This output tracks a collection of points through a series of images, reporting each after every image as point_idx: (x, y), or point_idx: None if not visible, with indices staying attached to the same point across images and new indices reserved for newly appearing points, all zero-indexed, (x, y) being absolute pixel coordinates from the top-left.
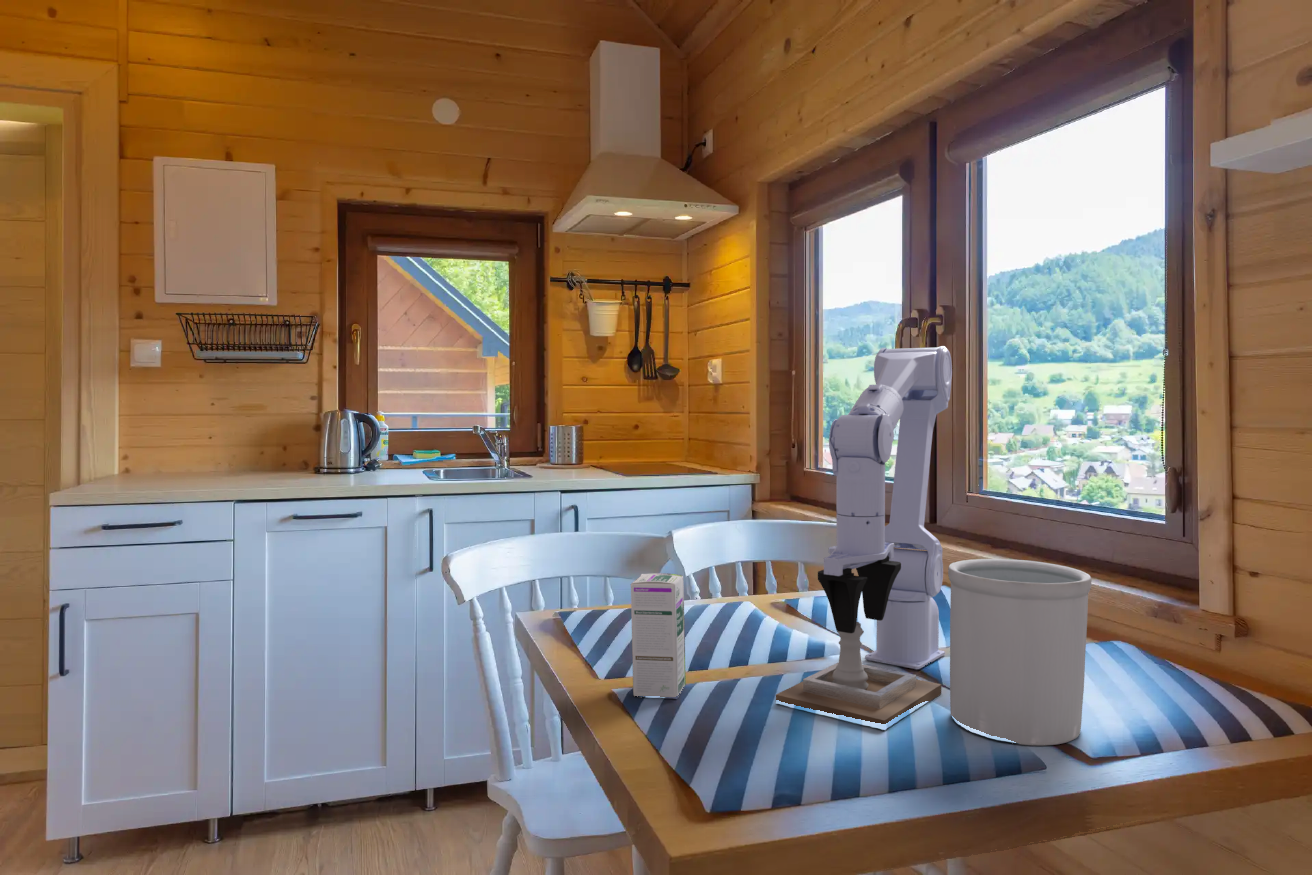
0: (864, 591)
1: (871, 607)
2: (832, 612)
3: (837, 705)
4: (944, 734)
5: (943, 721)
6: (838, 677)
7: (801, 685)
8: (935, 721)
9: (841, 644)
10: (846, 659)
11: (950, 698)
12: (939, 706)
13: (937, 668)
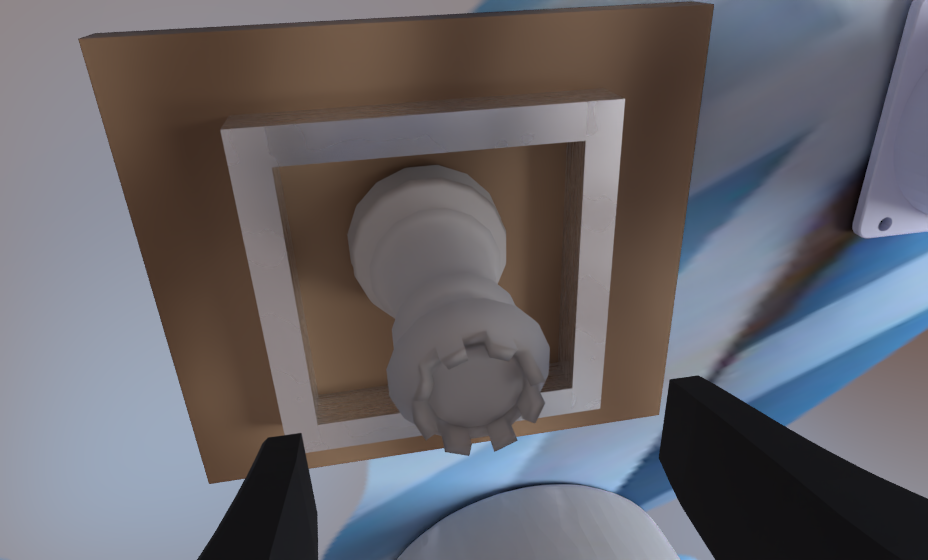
0: (788, 492)
1: (704, 460)
2: (217, 529)
3: (201, 315)
4: (329, 550)
5: (420, 505)
6: (355, 248)
7: (296, 56)
8: (405, 494)
9: (397, 318)
10: (391, 308)
11: (461, 555)
12: (532, 443)
13: (902, 260)
